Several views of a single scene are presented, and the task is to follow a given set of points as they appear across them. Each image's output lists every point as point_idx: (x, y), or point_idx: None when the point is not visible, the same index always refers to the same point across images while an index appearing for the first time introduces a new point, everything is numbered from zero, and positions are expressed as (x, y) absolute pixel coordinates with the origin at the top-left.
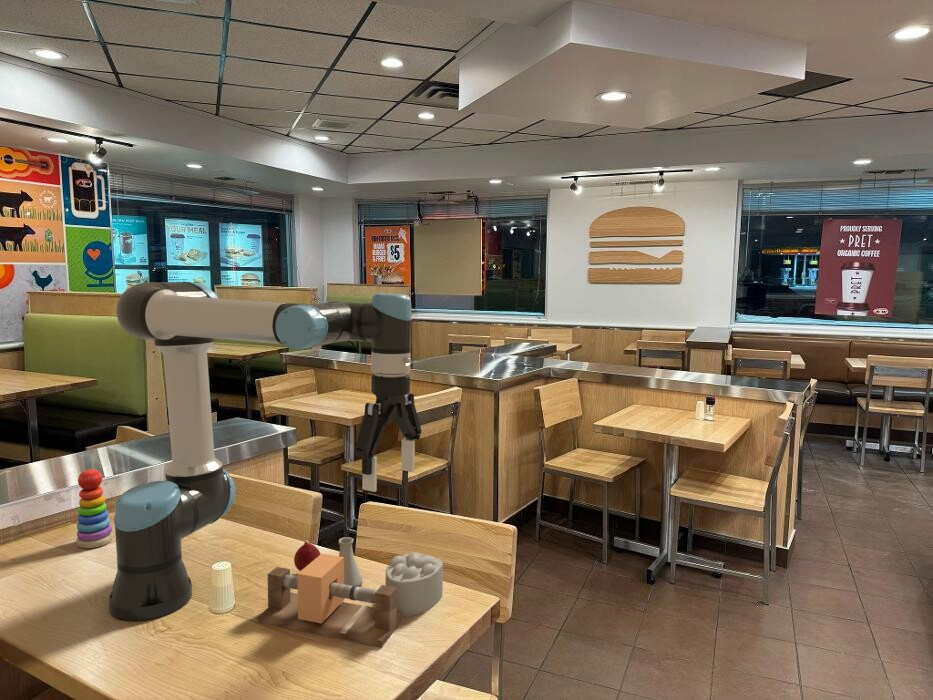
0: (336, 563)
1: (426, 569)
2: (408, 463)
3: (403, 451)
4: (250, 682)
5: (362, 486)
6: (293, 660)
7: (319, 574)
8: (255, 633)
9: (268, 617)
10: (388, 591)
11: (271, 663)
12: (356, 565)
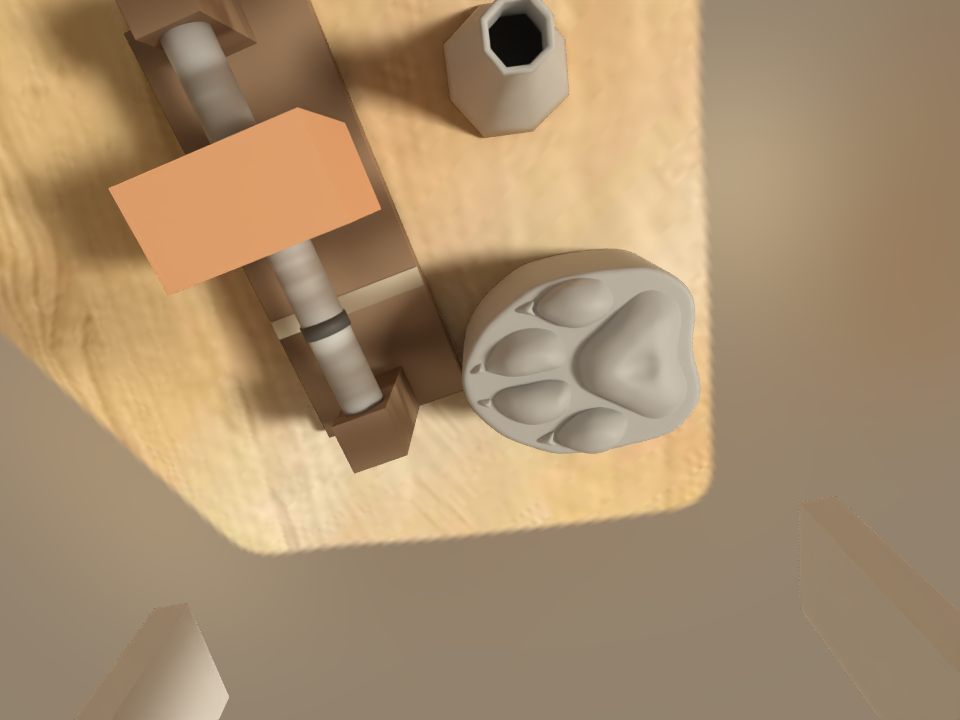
0: (287, 244)
1: (574, 446)
2: (847, 633)
3: (951, 690)
4: (3, 289)
5: (142, 626)
6: (131, 299)
7: (176, 268)
8: (103, 92)
9: (149, 71)
10: (368, 454)
11: (78, 264)
12: (544, 87)
